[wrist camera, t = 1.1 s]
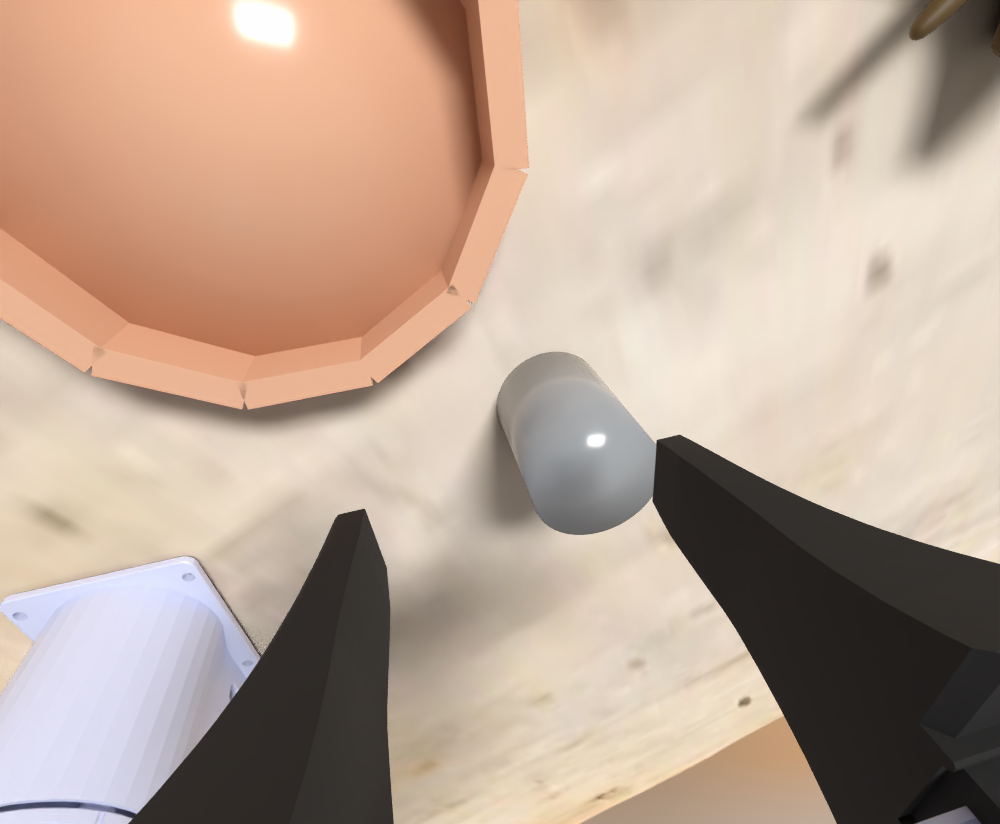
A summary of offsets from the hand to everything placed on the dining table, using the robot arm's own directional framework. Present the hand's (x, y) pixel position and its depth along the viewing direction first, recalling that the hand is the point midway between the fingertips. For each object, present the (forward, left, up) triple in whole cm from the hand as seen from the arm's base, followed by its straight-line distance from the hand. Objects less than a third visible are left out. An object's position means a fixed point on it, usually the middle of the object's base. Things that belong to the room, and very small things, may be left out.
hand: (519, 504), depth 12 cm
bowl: (+9, +6, -10) cm, 14 cm away
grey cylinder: (-3, -3, -10) cm, 11 cm away
